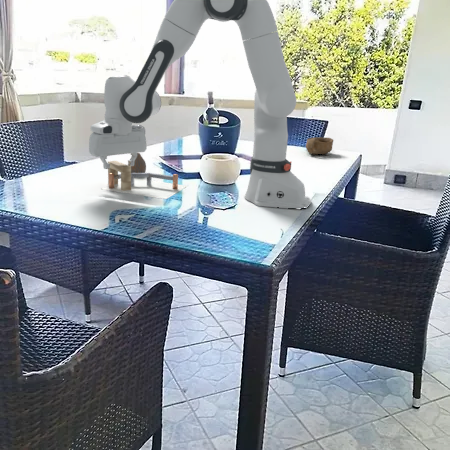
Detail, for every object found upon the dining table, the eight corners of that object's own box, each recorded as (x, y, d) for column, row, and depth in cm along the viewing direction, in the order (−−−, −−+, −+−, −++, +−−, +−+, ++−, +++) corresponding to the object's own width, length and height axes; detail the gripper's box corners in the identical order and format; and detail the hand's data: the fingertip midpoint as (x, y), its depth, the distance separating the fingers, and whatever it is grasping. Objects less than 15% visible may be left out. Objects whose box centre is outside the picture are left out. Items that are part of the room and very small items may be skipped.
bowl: (330, 156, 240) (327, 136, 238) (302, 160, 246) (299, 141, 244) (337, 150, 256) (334, 131, 254) (311, 154, 262) (308, 136, 260)
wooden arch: (115, 182, 173) (115, 160, 171) (131, 189, 166) (130, 166, 164) (108, 184, 171) (107, 161, 169) (123, 190, 164) (123, 167, 162)
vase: (142, 179, 184) (142, 156, 181) (124, 177, 185) (124, 154, 182) (148, 175, 190) (148, 152, 187) (131, 173, 191) (131, 151, 188)
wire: (176, 184, 176) (176, 171, 174) (177, 189, 170) (178, 175, 168) (109, 183, 172) (109, 169, 170) (108, 188, 166) (108, 174, 164)
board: (188, 187, 176) (188, 185, 175) (166, 201, 158) (166, 199, 158) (128, 179, 182) (128, 177, 182) (100, 191, 165) (100, 189, 165)
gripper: (140, 123, 171) (140, 162, 175) (85, 126, 158) (87, 168, 162) (150, 125, 166) (150, 165, 171) (95, 129, 153) (96, 172, 158)
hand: (119, 167), depth 167 cm, fingers open, 8 cm apart
